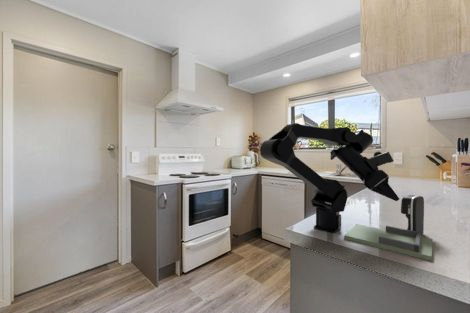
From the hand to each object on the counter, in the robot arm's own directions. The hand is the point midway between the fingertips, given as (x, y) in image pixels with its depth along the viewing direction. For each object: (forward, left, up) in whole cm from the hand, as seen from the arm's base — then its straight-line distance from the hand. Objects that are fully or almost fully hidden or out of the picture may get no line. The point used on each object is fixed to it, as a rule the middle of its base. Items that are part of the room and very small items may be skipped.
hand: (394, 197), depth 65 cm
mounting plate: (0, -10, -10) cm, 15 cm away
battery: (+4, +1, -11) cm, 11 cm away
